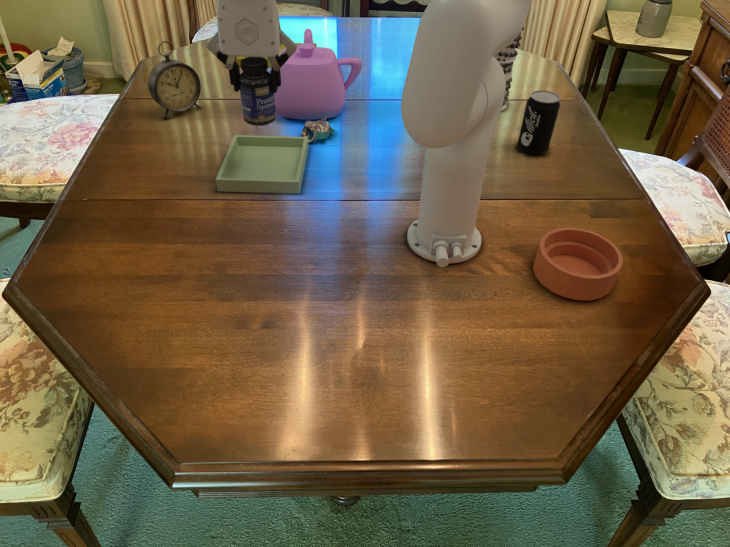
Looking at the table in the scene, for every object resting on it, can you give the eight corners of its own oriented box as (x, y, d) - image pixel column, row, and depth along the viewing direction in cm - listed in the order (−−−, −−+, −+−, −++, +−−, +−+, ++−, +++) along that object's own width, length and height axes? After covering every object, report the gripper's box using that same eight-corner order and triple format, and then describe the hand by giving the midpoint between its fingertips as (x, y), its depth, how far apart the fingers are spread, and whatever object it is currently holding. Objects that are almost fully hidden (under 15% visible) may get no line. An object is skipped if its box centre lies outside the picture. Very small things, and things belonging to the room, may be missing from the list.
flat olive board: (227, 66, 150) (316, 66, 151) (226, 58, 149) (315, 58, 150) (233, 50, 159) (316, 50, 160) (232, 42, 158) (316, 43, 159)
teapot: (362, 125, 126) (363, 59, 116) (269, 125, 125) (262, 58, 115) (359, 84, 143) (360, 24, 133) (278, 84, 142) (272, 23, 132)
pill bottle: (262, 129, 101) (255, 70, 94) (236, 121, 103) (228, 62, 96) (283, 117, 105) (278, 59, 98) (258, 109, 107) (251, 51, 100)
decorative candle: (506, 97, 139) (528, -11, 122) (510, 113, 132) (533, 1, 115) (469, 95, 139) (486, -13, 123) (471, 111, 132) (489, -1, 116)
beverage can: (548, 158, 116) (563, 104, 108) (516, 154, 117) (529, 101, 109) (547, 143, 121) (561, 91, 113) (516, 140, 122) (528, 87, 114)
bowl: (623, 303, 84) (634, 279, 80) (542, 301, 84) (550, 276, 81) (599, 251, 93) (608, 228, 90) (525, 249, 93) (532, 226, 90)
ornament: (320, 125, 125) (319, 110, 123) (340, 136, 122) (340, 120, 119) (292, 136, 121) (291, 121, 119) (312, 148, 117) (312, 132, 115)
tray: (299, 193, 104) (298, 182, 103) (217, 191, 104) (215, 179, 103) (308, 147, 118) (308, 136, 116) (235, 145, 118) (234, 134, 116)
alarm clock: (163, 123, 125) (145, 50, 114) (152, 114, 128) (134, 43, 117) (206, 109, 130) (193, 39, 119) (195, 101, 133) (181, 32, 122)
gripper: (184, -15, 85) (204, 96, 97) (295, -12, 85) (302, 99, 97) (196, -27, 91) (214, 79, 103) (300, -24, 91) (306, 82, 103)
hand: (256, 88), depth 100 cm, fingers closed on pill bottle, 6 cm apart
